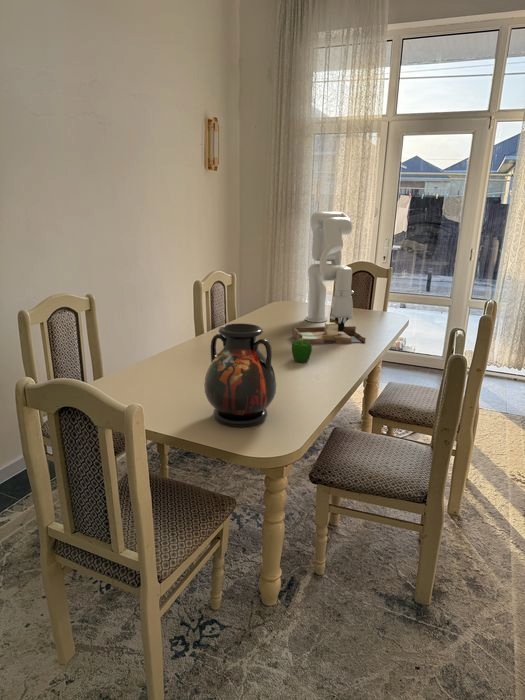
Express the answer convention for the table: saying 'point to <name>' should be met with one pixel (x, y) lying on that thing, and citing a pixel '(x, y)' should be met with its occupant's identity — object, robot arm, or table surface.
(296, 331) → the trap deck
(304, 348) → the bell pepper
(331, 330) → the birch block
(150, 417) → the table surface
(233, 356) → the amphora vase
